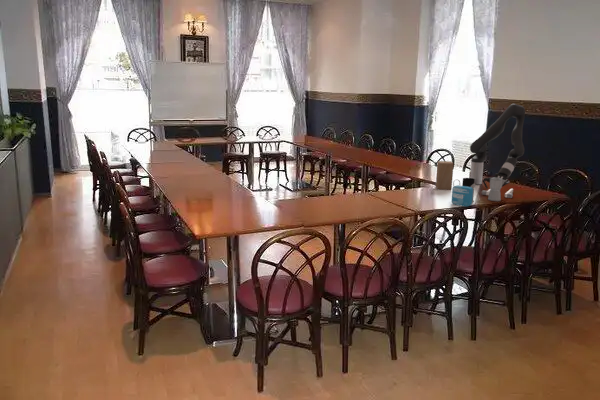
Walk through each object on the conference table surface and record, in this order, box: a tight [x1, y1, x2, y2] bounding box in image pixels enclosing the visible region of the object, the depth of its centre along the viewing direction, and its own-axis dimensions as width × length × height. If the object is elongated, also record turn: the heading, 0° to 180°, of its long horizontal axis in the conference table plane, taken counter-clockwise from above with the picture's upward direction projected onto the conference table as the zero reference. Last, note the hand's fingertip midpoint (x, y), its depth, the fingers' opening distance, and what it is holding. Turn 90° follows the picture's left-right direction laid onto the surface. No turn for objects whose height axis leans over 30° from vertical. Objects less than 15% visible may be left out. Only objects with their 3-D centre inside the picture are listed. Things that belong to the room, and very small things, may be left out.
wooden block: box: [435, 160, 454, 191], centre depth 367 cm, size 10×10×20 cm
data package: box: [450, 184, 474, 207], centre depth 316 cm, size 12×4×12 cm, turn 48°
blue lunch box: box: [452, 177, 476, 203], centre depth 329 cm, size 9×14×15 cm, turn 58°
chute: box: [481, 188, 514, 199], centre depth 353 cm, size 20×22×2 cm
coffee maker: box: [482, 173, 506, 202], centre depth 331 cm, size 15×9×18 cm, turn 64°
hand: (494, 190), depth 335 cm, fingers closed
